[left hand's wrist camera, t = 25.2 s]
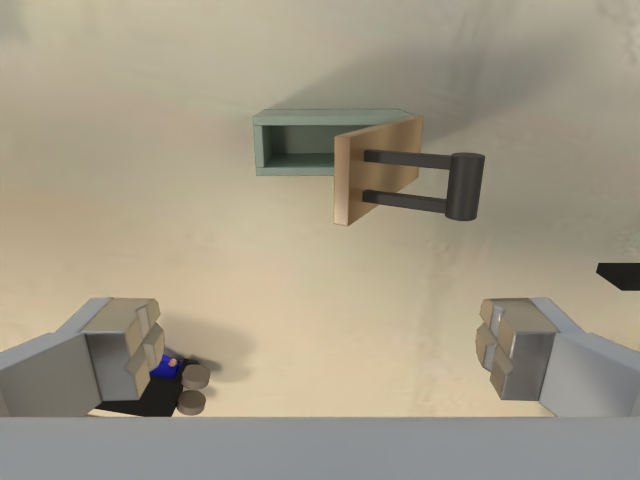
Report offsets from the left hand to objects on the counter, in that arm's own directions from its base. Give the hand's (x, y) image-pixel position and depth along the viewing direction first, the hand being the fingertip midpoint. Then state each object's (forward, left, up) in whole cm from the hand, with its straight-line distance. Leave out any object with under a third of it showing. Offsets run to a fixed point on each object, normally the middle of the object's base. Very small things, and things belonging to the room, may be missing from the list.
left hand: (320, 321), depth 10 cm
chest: (+1, -1, -38) cm, 38 cm away
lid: (+2, -4, -22) cm, 23 cm away
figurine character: (-38, +3, -38) cm, 54 cm away
